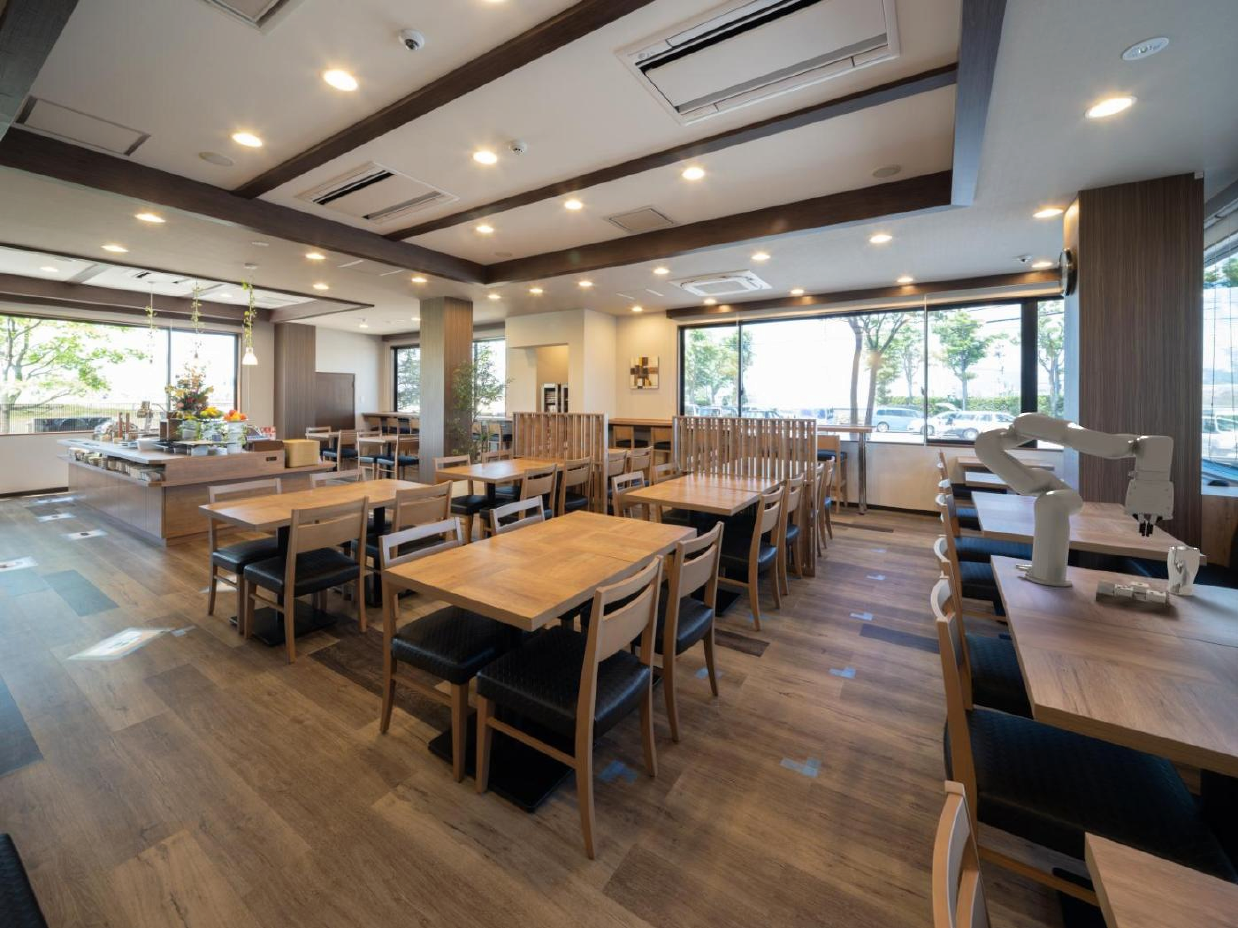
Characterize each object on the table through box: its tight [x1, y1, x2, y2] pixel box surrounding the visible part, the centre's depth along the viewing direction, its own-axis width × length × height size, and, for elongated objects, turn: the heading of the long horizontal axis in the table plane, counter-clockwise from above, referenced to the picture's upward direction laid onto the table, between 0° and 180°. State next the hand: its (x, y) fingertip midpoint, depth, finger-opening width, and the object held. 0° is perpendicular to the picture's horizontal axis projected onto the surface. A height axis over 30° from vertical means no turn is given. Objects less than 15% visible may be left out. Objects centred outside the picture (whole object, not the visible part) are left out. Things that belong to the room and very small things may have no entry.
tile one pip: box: [1130, 581, 1150, 593], centre depth 165 cm, size 4×4×3 cm
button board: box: [1095, 581, 1171, 616], centre depth 163 cm, size 16×14×3 cm
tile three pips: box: [1114, 583, 1133, 597], centre depth 162 cm, size 4×4×3 cm
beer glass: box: [1165, 544, 1201, 597], centre depth 169 cm, size 7×7×15 cm
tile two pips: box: [1146, 589, 1167, 603], centre depth 157 cm, size 4×4×3 cm
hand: (1145, 535), depth 160 cm, fingers closed
